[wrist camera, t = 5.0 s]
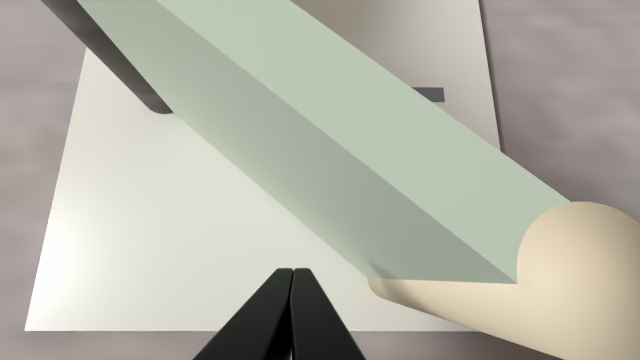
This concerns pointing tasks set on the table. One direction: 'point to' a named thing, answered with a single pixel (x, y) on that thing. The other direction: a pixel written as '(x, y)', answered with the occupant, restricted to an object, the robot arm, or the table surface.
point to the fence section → (106, 51)
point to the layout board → (226, 192)
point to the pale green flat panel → (389, 175)
